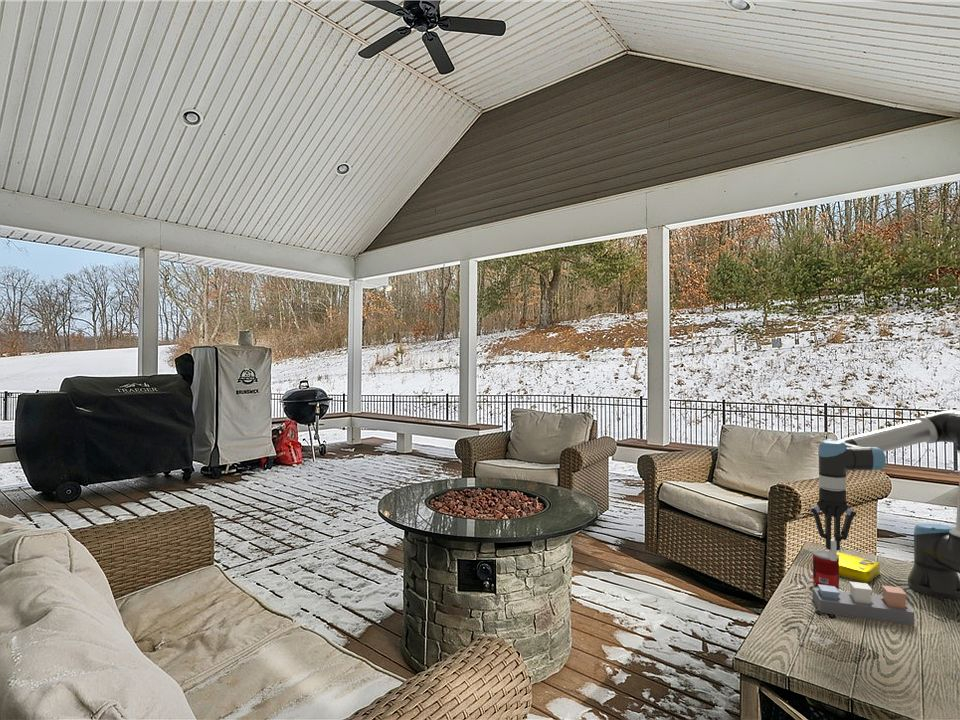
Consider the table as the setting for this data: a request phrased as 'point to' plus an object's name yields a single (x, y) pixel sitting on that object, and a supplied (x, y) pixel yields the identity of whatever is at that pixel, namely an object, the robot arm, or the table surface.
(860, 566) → the element tile
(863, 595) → the white key
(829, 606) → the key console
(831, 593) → the slate blue key
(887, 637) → the table surface
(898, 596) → the terracotta key
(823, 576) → the canned food
